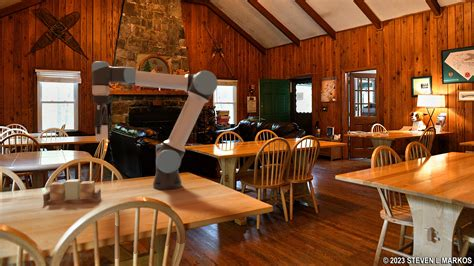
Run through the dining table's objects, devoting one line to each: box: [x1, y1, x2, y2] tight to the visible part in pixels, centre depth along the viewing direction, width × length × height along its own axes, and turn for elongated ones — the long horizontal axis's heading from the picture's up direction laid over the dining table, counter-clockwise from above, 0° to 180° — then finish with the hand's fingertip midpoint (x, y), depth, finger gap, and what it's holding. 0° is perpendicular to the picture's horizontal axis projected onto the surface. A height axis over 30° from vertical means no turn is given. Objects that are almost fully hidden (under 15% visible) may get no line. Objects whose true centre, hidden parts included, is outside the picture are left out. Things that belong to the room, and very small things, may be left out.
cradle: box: [42, 180, 102, 206], centre depth 159 cm, size 22×8×8 cm, turn 100°
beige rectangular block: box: [64, 178, 81, 200], centre depth 159 cm, size 5×5×8 cm
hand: (102, 139), depth 169 cm, fingers open, 13 cm apart
